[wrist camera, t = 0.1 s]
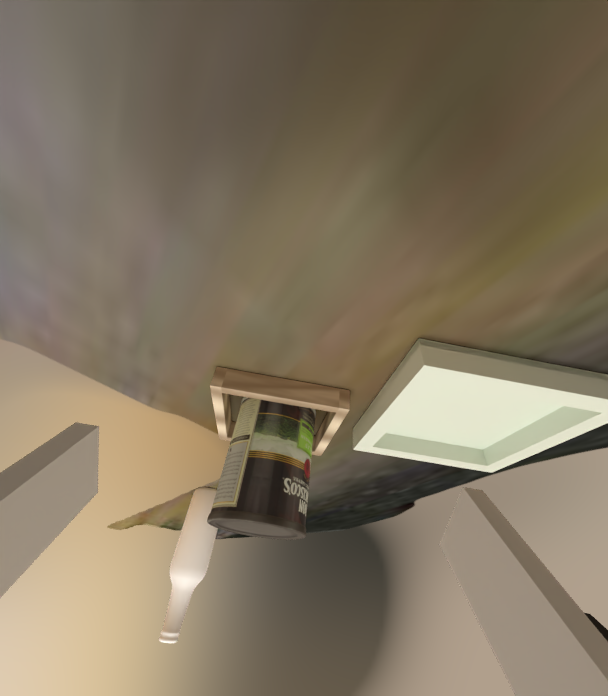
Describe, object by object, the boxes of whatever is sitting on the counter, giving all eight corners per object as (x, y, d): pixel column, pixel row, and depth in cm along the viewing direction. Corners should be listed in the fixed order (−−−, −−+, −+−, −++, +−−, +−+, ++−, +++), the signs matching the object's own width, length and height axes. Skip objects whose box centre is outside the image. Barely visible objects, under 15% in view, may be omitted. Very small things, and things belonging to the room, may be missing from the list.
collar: (216, 366, 32) (210, 385, 31) (349, 390, 33) (349, 409, 32) (224, 423, 44) (219, 439, 42) (321, 439, 45) (320, 455, 43)
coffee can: (302, 385, 33) (284, 524, 24) (324, 424, 41) (317, 542, 32) (226, 391, 36) (185, 517, 28) (259, 427, 44) (236, 535, 35)
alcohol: (232, 495, 82) (196, 644, 63) (209, 495, 85) (169, 636, 66) (212, 486, 76) (166, 647, 57) (188, 486, 80) (137, 638, 61)
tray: (418, 338, 25) (424, 365, 24) (624, 377, 27) (645, 406, 25) (352, 428, 41) (352, 449, 39) (485, 451, 42) (491, 472, 40)
